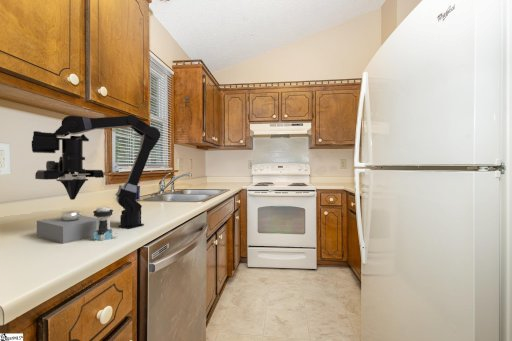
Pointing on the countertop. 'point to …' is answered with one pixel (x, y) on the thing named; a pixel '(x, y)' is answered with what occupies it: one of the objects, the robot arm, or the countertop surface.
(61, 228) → the panel
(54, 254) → the countertop surface
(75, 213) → the knob
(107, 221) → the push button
